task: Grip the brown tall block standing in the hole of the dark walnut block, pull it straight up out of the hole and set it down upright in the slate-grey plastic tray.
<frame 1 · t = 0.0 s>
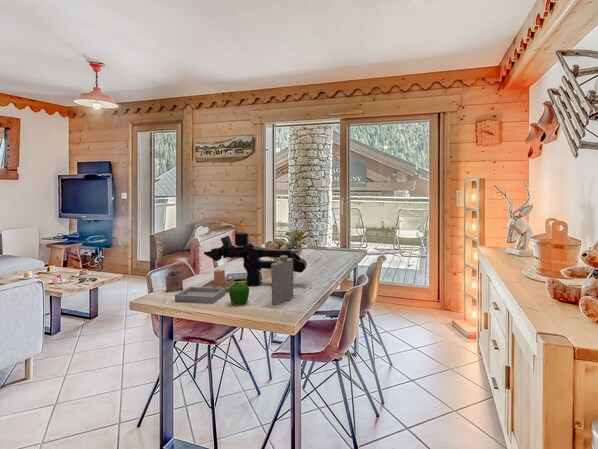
hand: (207, 251, 191), 17 cm above the table, tool horizontal, fingers open, 9 cm apart
brown tall block: (219, 279, 181), in the socket block
hip flask: (283, 300, 161), on the table
lighter: (174, 291, 177), on the table
socket block: (219, 288, 181), on the table
tray: (201, 297, 165), on the table
bell pepper: (239, 304, 156), on the table
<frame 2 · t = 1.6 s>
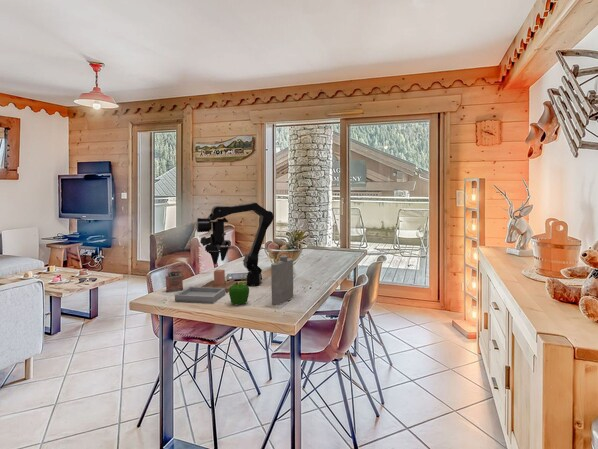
hand: (218, 262, 180), 13 cm above the table, tool pointing down, fingers open, 9 cm apart
nothing on the table moved.
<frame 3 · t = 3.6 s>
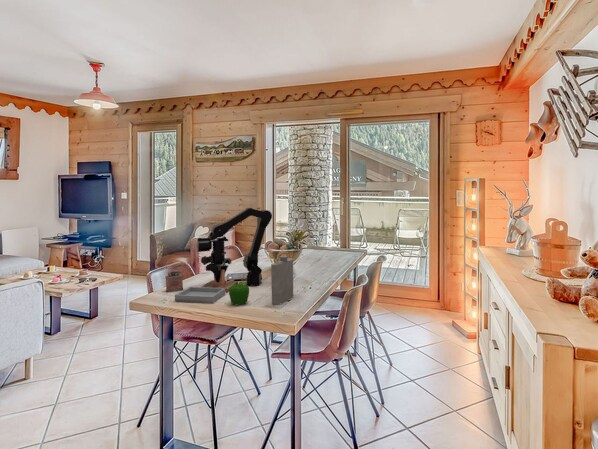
hand: (219, 281, 181), 4 cm above the table, tool pointing down, fingers closed on brown tall block, 4 cm apart
brown tall block: (219, 279, 181), in the socket block, touching gripper
everything else where it was.
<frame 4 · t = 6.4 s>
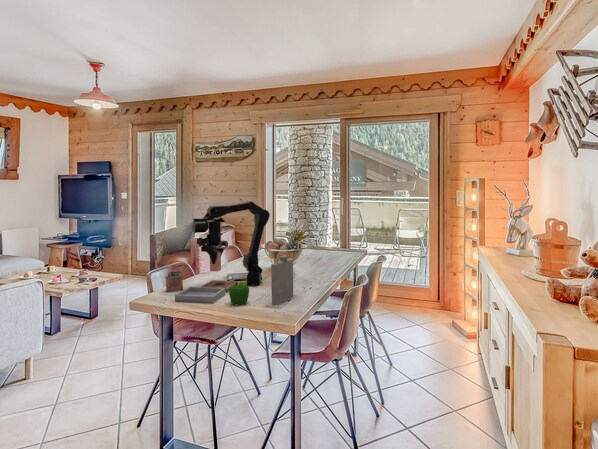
hand: (215, 263, 177), 13 cm above the table, tool pointing down, fingers closed on brown tall block, 4 cm apart
brown tall block: (215, 261, 177), point 14 cm above the table, touching gripper
everything else where it was.
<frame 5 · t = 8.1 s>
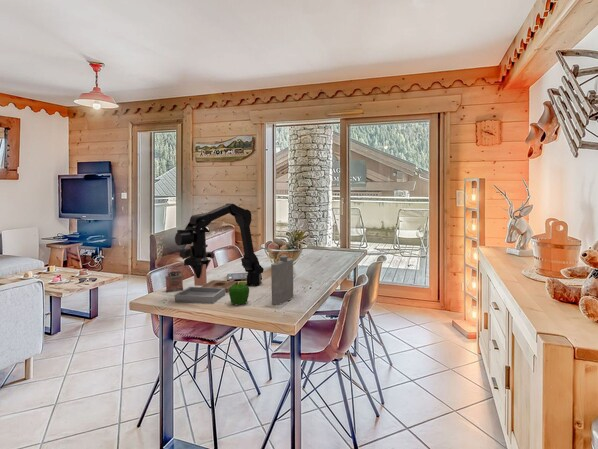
hand: (200, 277, 164), 10 cm above the table, tool pointing down, fingers closed on brown tall block, 4 cm apart
brown tall block: (200, 274, 164), point 11 cm above the table, touching gripper
everything else where it was.
when the fingers open (5 cm above the table, at t = 9.5 s): brown tall block stays where it is, resting on tray.
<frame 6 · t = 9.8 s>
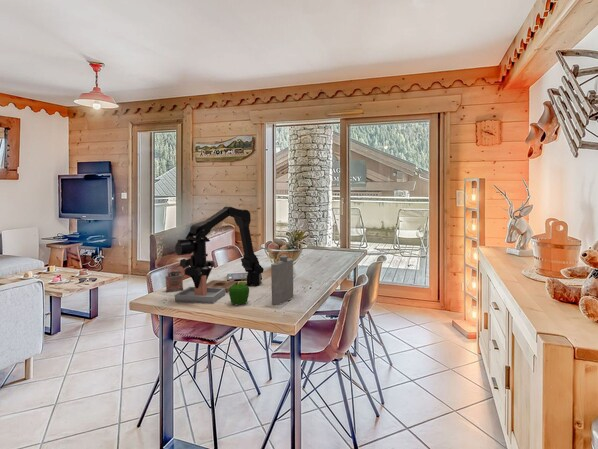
hand: (200, 286, 164), 5 cm above the table, tool pointing down, fingers open, 7 cm apart
brown tall block: (200, 286, 164), in the tray, point 6 cm above the table
everything else where it was.
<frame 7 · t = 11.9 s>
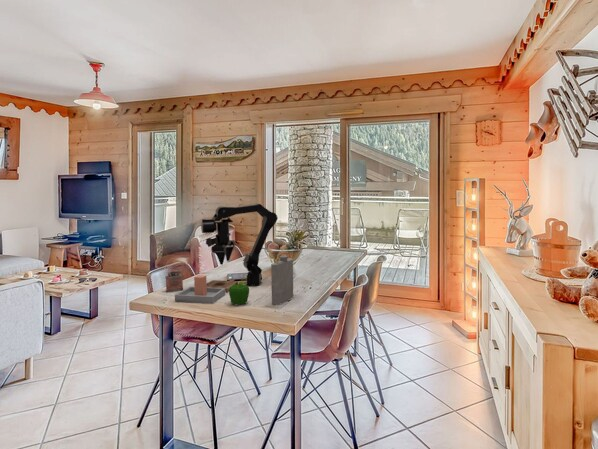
hand: (224, 262, 181), 13 cm above the table, tool pointing down, fingers open, 9 cm apart
nothing on the table moved.
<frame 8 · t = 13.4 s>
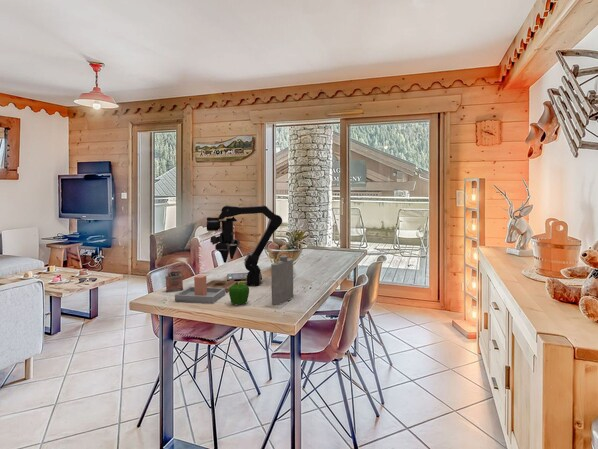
hand: (228, 260, 184), 13 cm above the table, tool pointing down, fingers open, 9 cm apart
nothing on the table moved.
at the end: brown tall block inside the target area on the tray (0.1 cm from its centre), point 5.5 cm above the tray's base; brown tall block tilted 0°; the gripper is holding nothing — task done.
